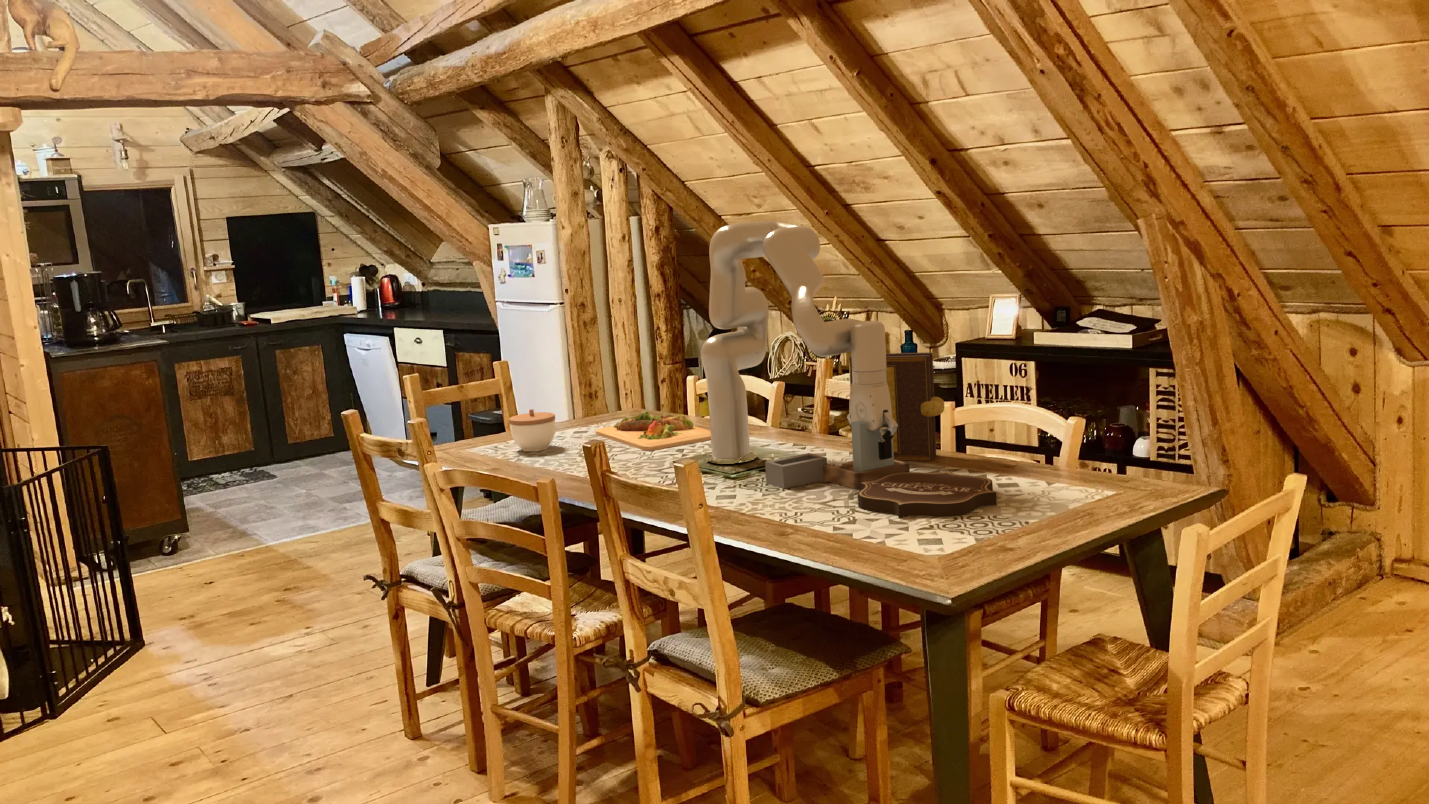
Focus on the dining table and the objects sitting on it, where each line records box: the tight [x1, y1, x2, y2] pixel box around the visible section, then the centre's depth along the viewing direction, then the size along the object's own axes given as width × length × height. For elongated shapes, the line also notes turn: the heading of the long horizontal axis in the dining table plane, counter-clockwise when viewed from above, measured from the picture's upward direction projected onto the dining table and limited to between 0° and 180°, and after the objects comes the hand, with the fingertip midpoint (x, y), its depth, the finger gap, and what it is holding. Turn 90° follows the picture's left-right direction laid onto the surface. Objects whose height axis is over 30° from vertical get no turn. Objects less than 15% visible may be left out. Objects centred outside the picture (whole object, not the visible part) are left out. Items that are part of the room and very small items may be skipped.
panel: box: [850, 421, 894, 473], centre depth 257 cm, size 3×9×14 cm, turn 120°
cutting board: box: [595, 410, 711, 451], centre depth 328 cm, size 35×23×8 cm
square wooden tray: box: [823, 460, 911, 491], centre depth 261 cm, size 13×14×4 cm
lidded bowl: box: [508, 409, 556, 452], centre depth 320 cm, size 13×13×11 cm
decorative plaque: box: [857, 470, 998, 519], centre depth 240 cm, size 30×3×30 cm
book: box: [848, 352, 945, 462], centre depth 278 cm, size 22×8×25 cm, turn 71°
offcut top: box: [841, 460, 854, 471], centre depth 262 cm, size 5×7×2 cm, turn 128°
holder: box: [764, 452, 828, 489], centre depth 263 cm, size 7×12×5 cm, turn 120°
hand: (873, 455), depth 257 cm, fingers open, 7 cm apart
